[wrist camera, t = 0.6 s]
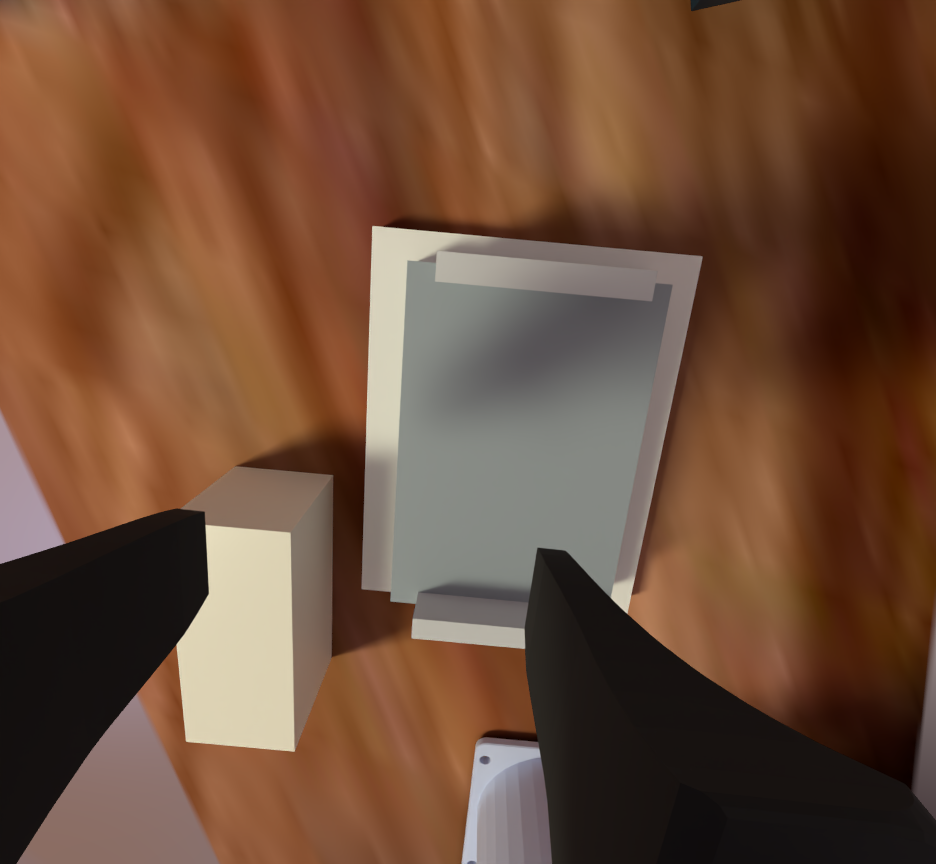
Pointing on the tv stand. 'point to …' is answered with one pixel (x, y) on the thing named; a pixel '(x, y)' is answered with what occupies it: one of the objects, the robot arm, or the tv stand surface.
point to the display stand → (512, 418)
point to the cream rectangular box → (260, 609)
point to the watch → (707, 3)
